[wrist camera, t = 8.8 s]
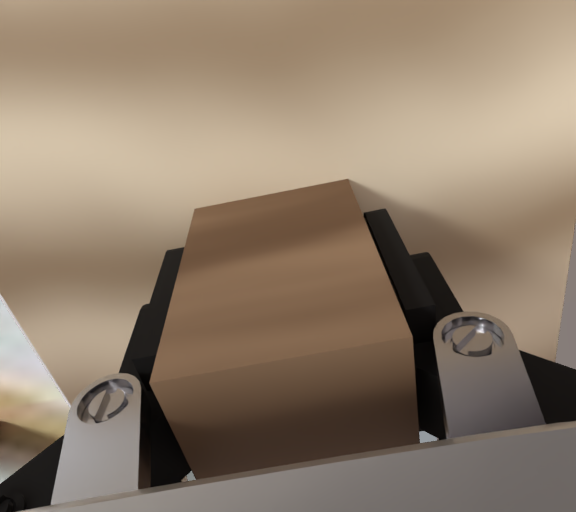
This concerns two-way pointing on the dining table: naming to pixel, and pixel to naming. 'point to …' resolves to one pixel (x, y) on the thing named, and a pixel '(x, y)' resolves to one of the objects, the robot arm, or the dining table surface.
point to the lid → (280, 199)
